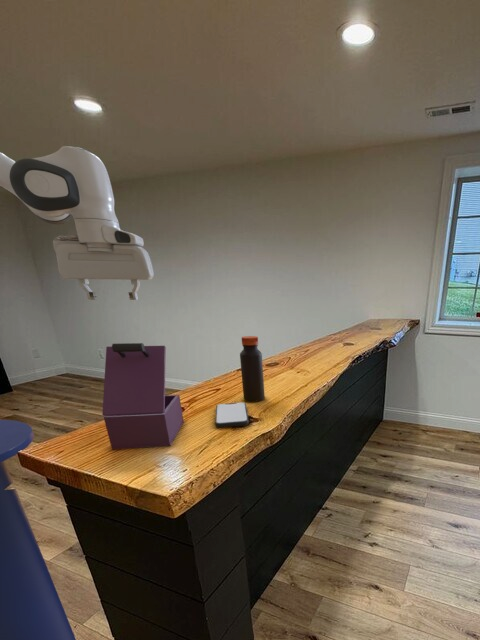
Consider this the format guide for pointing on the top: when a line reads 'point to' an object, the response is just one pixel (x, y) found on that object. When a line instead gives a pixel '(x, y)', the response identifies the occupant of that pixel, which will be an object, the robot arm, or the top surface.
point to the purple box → (146, 427)
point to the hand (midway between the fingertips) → (113, 299)
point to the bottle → (252, 370)
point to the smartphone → (231, 415)
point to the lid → (134, 379)
